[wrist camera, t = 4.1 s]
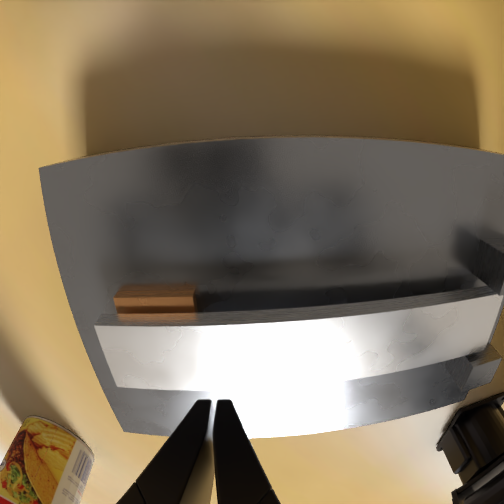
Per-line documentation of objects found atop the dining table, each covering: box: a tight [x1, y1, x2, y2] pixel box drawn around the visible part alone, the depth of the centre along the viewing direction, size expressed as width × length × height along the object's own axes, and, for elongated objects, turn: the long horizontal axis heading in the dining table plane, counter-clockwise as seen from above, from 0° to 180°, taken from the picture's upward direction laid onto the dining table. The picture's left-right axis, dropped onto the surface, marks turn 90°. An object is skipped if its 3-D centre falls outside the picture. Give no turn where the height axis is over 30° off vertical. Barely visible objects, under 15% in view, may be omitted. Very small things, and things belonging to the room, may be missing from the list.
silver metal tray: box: [39, 136, 504, 438], centre depth 13 cm, size 20×14×6 cm
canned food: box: [0, 416, 94, 504], centre depth 16 cm, size 8×8×12 cm
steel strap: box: [94, 286, 504, 391], centre depth 11 cm, size 16×3×1 cm, turn 92°
